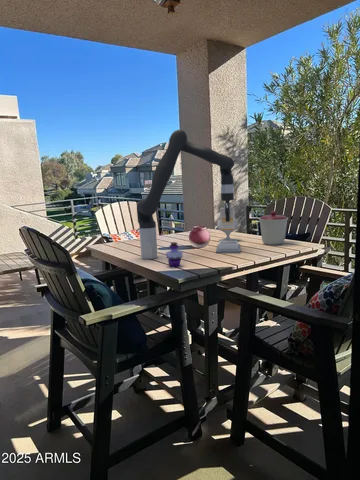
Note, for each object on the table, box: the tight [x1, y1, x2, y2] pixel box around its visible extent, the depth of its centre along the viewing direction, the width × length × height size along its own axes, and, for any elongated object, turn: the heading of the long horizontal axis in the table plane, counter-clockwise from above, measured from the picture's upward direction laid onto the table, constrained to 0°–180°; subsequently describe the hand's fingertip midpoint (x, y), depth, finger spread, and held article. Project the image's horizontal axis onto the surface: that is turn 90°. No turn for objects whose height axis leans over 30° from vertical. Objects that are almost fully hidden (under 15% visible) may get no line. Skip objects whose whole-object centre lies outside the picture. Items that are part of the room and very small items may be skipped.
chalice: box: [217, 218, 239, 242], centre depth 239 cm, size 14×14×15 cm
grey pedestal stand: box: [215, 240, 241, 254], centre depth 211 cm, size 22×14×4 cm, turn 171°
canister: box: [258, 210, 289, 246], centre depth 222 cm, size 18×18×21 cm
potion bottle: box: [165, 241, 183, 268], centre depth 176 cm, size 9×9×12 cm
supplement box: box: [219, 206, 236, 231], centre depth 208 cm, size 8×5×13 cm, turn 75°
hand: (227, 220), depth 209 cm, fingers closed on supplement box, 5 cm apart
